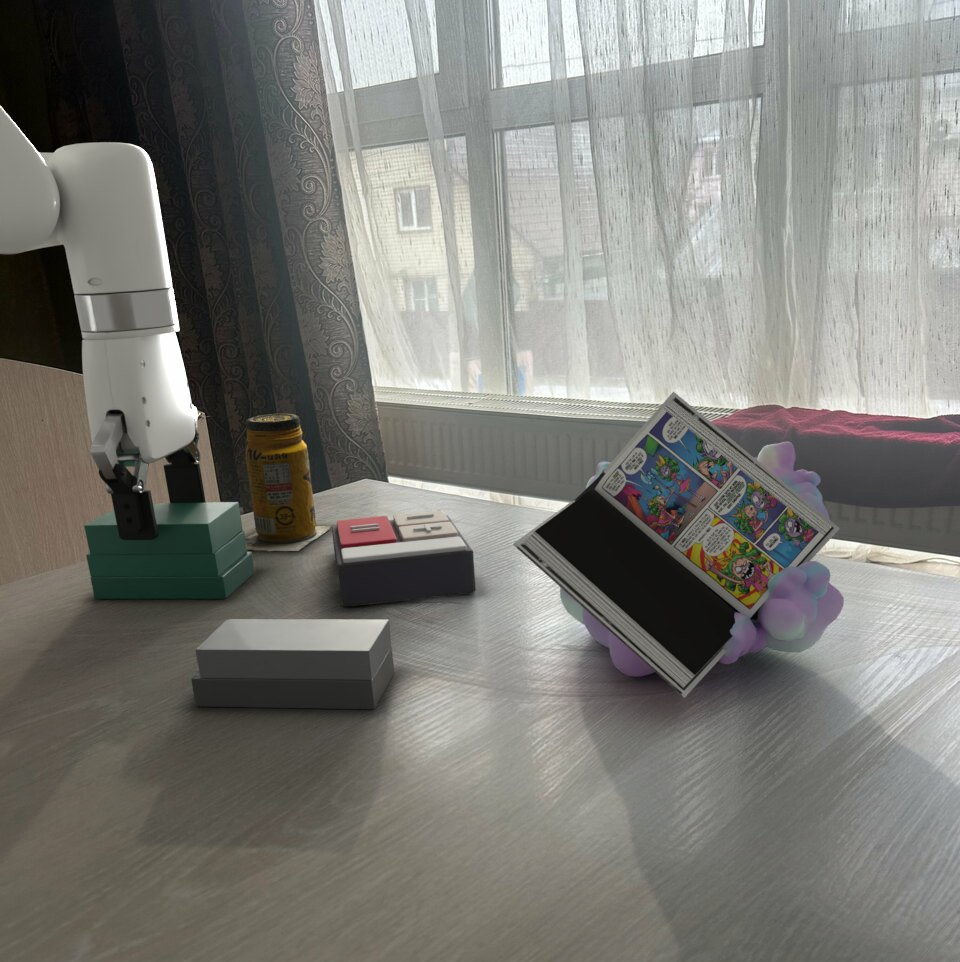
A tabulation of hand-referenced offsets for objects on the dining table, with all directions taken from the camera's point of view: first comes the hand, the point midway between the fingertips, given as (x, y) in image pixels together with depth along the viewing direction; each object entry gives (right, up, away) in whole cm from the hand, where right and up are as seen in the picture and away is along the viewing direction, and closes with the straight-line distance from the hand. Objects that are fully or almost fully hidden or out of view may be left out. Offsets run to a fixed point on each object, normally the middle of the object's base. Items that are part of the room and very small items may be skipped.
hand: (165, 522), depth 87 cm
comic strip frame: (+42, -11, -16) cm, 46 cm away
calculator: (+20, -5, +2) cm, 21 cm away
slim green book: (0, -2, +1) cm, 2 cm away
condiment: (+7, 0, +14) cm, 16 cm away
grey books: (+15, -13, -20) cm, 28 cm away
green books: (0, -5, +2) cm, 6 cm away
